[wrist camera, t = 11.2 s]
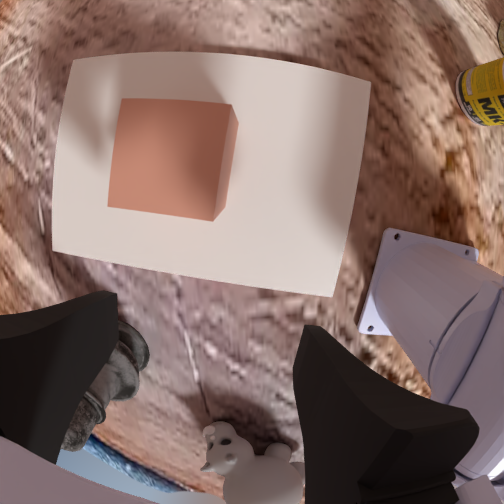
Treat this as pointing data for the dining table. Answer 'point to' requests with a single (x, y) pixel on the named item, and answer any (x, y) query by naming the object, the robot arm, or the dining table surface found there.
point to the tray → (242, 171)
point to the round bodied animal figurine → (252, 469)
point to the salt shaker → (109, 386)
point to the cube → (173, 157)
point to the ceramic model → (501, 35)
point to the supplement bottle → (482, 93)
